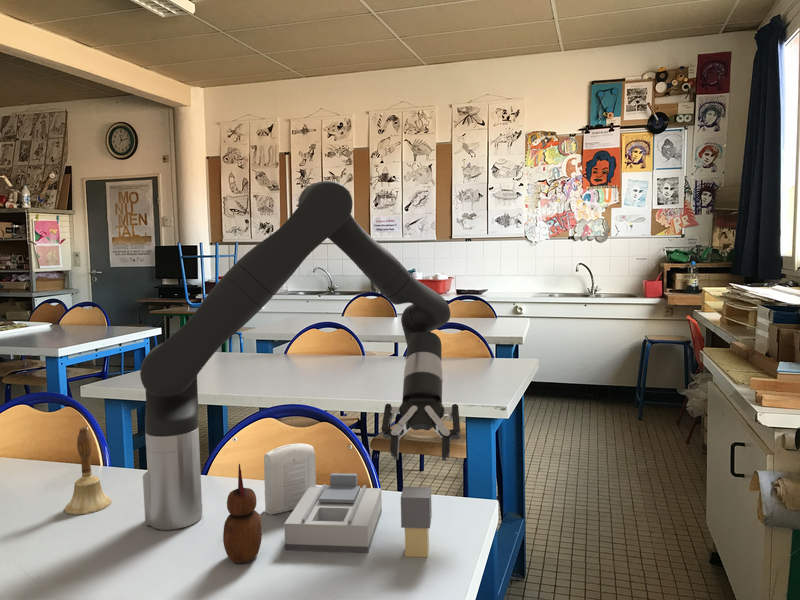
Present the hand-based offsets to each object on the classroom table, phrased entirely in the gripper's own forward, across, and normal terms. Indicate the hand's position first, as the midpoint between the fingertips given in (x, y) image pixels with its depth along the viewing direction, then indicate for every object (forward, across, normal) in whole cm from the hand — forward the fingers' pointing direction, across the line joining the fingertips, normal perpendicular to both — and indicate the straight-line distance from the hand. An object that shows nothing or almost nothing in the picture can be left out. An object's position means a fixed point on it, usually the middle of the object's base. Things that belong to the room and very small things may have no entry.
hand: (419, 458), depth 106 cm
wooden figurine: (+18, -28, 0) cm, 33 cm away
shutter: (+4, -15, +7) cm, 17 cm away
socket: (+10, -15, +8) cm, 20 cm away
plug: (+15, 0, +3) cm, 15 cm away
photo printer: (+4, -26, +14) cm, 30 cm away
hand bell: (+5, -67, +13) cm, 68 cm away
